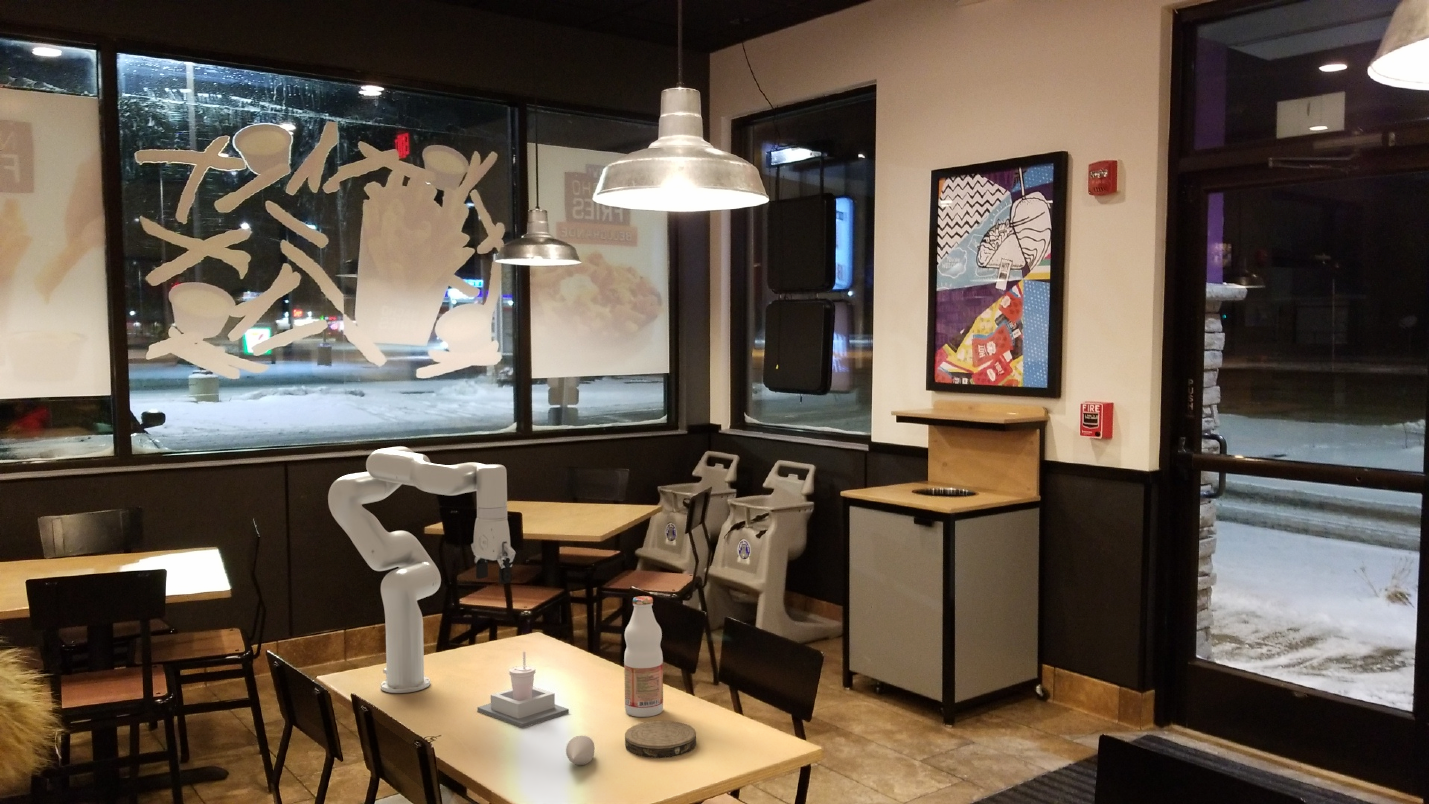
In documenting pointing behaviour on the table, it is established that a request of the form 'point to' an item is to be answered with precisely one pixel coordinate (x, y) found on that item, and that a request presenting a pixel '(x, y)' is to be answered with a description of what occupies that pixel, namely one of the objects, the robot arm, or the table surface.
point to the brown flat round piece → (660, 739)
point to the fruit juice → (643, 661)
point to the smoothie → (522, 681)
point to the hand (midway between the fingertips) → (493, 580)
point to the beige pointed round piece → (580, 750)
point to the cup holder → (523, 708)
